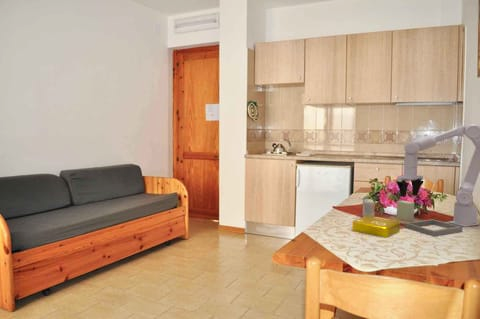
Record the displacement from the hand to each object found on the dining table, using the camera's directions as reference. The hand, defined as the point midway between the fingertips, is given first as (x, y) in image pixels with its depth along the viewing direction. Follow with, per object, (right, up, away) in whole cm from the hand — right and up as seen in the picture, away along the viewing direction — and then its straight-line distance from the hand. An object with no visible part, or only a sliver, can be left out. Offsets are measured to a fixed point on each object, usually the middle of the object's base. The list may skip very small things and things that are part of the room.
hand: (409, 196), depth 181 cm
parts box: (-5, -10, -6) cm, 13 cm away
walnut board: (-5, -11, -6) cm, 13 cm away
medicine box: (-20, -11, -2) cm, 23 cm away
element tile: (-23, -13, -21) cm, 34 cm away
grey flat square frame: (+2, -12, -19) cm, 23 cm away
